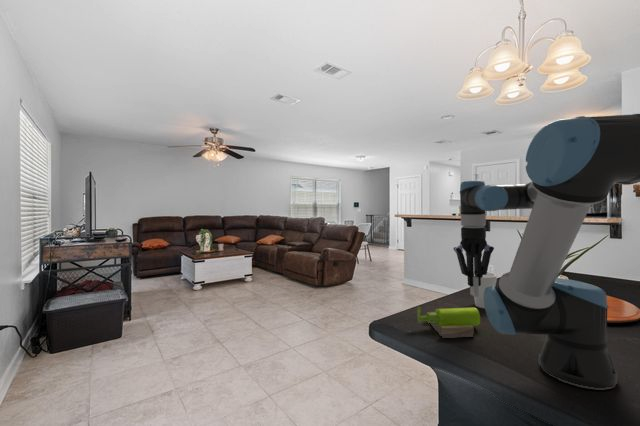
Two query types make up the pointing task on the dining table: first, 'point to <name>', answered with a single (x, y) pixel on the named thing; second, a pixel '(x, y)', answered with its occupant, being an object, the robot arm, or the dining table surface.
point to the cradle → (457, 329)
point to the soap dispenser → (451, 316)
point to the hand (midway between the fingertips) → (474, 295)
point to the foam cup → (486, 282)
